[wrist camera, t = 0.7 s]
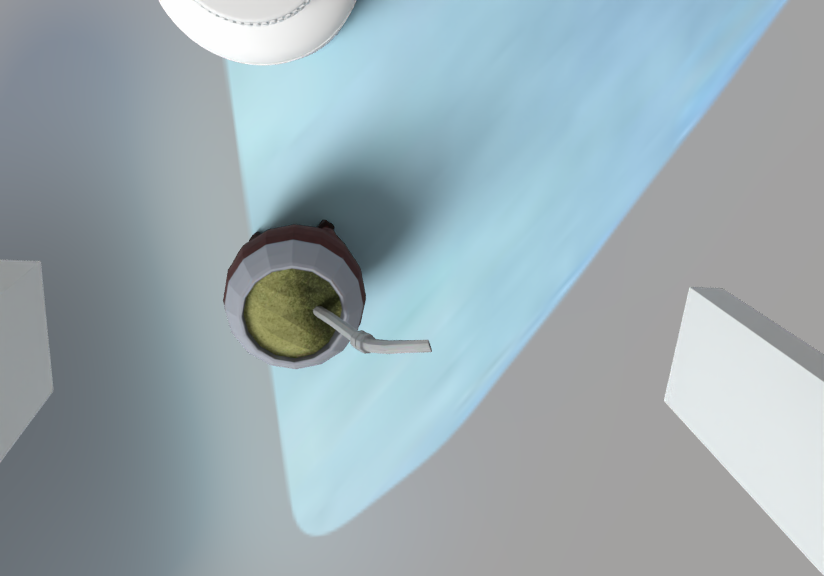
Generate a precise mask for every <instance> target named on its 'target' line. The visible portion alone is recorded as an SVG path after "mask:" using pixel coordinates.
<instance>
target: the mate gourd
mask: <svg viewBox="0 0 824 576" xmlns="http://www.w3.org/2000/svg"><path fill="white" fill-rule="evenodd" d="M333 229H334V226H333V224H332V223H330V222H328V221H327V220H322V221H321V223H320V224H319V225H318V226H317V228H316V227H309V226H302V225H296V224H294V225H289V226H284V227H279V228H274V229H269V230H267V231H265V232H264V233H262V234H260V233H259V232H256V233H255V234H254V235H252V237H251V238H250V240H249V242H248V243H246V244H245V245H243V247H242V248H241V249H240V251H239V252H238V254H237V256H236V258H235V260H234V261H233V263H232V265H231V266H230V268H229V269H228V273H227V280H226V287H225V292H224V299H223V302H224V305H225V306H224V307H225V311H226V315H227V319H228V322H229V326H230V329H231V332H232V334H233V335H234V336H235V337H236V338H237V340H238V341H239V342H240V343H241V345H242V346H243V347H244V348H245V350H246V351H247V352H248V353H250V354H252V355H253V356H255V357H257V358H259V359H261V360H262V361H264V362H266V363H267V364H269V365H273V366H279V367H286V368H292V369H299V368H304V367H309V366H314V365H319V364H322V363H324V362H325V361H327V360H329V359H330V358H332V357H333V356H335V355H337V354H338V353H340V352H341V351H343V350H344V348H345V347H346V346H347V344H348V343H349V341H351V345H352V346H353V347H354V348H356V349H357V350H359V351H361V352H363V353H371V352H372V353H383V354H394V353H416V352H432V349H431V346H430V343H429V341H428V340H393V341H389V340H379V339H375V338H374V337H373V336H372V335H371V334H369V333H366V332H364V331H357V330H358V327H359V325H360V323H361V319H362V314H363V309H364V305H365V300H366V294H365V289H364V283H363V278H362V273H361V269H360V267H359V265H358V263H357V262H356V260H355V259H354V257H353V256H352V254H351V253H350V251H349V250H348V248H347V247H346V245H345V244H344V243H343V242H342V241H341V239H340V238H339V237H338V236H337V235H336V234H335V232H334V230H333Z"/></svg>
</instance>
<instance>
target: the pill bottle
mask: <svg viewBox="0 0 824 576" xmlns="http://www.w3.org/2000/svg"><path fill="white" fill-rule="evenodd" d="M356 1H357V0H159V2H160V4H161V5H162V7H163V8H164V10H165V11H166V13H167V14H168V15H169V17H170V18H171V19H172V21H173V22H174V23H175V24H176V25H177V26H178V27H179V28H180V29H181V30H182V31H183V32H184V33H185V34H186V35H187V36H188V37H189V38H191V39H192V40H193V41H194V42H196V43H197V44H199V45H200V46H202V47H204V48H205V49H207V50H209V51H210V52H212V53H214V54H216V55H218V56H221V57H223V58H226V59H228V60H232V61H235V62H239V63H244V64H250V65H276V64H282V63H287V62H291V61H294V60H297V59H300V58H303V57H306V56H308V55H311V54H313V53H315V52H316V51H318V50H320V49H321V48H323V47H324V46H325V45H327V44H328V43H329V42H330V41H331V40H332V39H333V38H334V37H335V36H336V35H337V33H338V32H339V31H340V29H341V28H342V26H343V25H344V23H345V22H346V20H347V18H348V17H349V15H350V13H351V11H352V9H353V7H354V5H355V3H356Z"/></svg>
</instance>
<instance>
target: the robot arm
mask: <svg viewBox="0 0 824 576" xmlns="http://www.w3.org/2000/svg"><path fill="white" fill-rule="evenodd" d="M52 392H53V383H52V372H51V363H50V351H49V342H48V331H47V321H46V312H45V301H44V291H43V281H42V270H41V262H40V261H21V260H0V462H1V461H2V459H3V458H4V457H5V455H6V454H7V453H8V451H9V450H10V449H11V447H12V446H13V444H14V443H15V442H16V441H17V439H18V438H19V436H20V435H21V434H22V433H23V431H24V430H25V428H26V427H27V426H28V424H29V423H30V422H31V420H32V419H33V418H34V416H35V415H36V414H37V412H38V411H39V410H40V408H41V407H42V406H43V404H44V403H45V402H46V400H47V399H48V398H49V396H50V395H51V393H52ZM664 401H665V402H666V403H667V405H668V406H669V407H670V408H671V409H672V410H673V411H674V412H675V413H676V414H677V416H678V417H679V418H680V419H681V420H682V421H683V422H684V423H685V424H686V425H687V426H688V428H689V429H690V430H691V431H692V432H693V433H694V434H695V435H696V436H697V438H699V439H700V441H701V442H702V443H703V444H704V445H705V446H706V447H707V448H708V450H710V452H711V453H712V454H713V455H714V456H715V457H716V458H717V459H718V460H719V461H720V463H721V464H722V465H723V466H724V467H725V468H726V469H727V470H728V471H729V473H730V474H731V475H732V476H733V477H734V478H735V479H736V480H737V481H738V482H739V483H740V484H741V486H742V487H743V488H744V489H745V490H746V491H747V492H748V493H749V494H750V496H751V497H752V498H753V499H754V500H755V501H756V502H757V503H758V504H759V505H760V506H761V508H762V509H763V510H764V511H765V512H766V513H767V514H768V515H769V516H770V517H771V519H772V520H773V521H774V522H775V523H776V524H777V525H778V526H779V527H780V528H781V529H782V530H783V532H784V533H785V534H786V535H787V536H788V537H789V538H790V539H791V540H792V542H793V543H794V544H795V545H796V546H797V547H798V548H799V549H800V550H801V551H802V552H803V554H804V555H805V556H806V557H807V558H808V559H809V560H810V561H811V562H812V563H813V565H814V566H815V567H816V568H817V569H818V570H819V571H820V572H821V573H822V574H823V575H824V354H823V353H821V352H820V351H818V350H817V349H815V348H814V347H812V346H810V345H809V344H807V343H806V342H804V341H803V340H801V339H800V338H798V337H797V336H795V335H794V334H792V333H791V332H789V331H787V330H786V329H784V328H782V327H781V326H780V325H778V324H777V323H775V322H774V321H772V320H771V319H769V318H768V317H766V316H764V315H763V314H761V313H760V312H758V311H757V310H755V309H754V308H752V307H751V306H749V305H747V304H746V303H744V302H743V301H741V300H740V299H738V298H737V297H735V296H734V295H732V294H731V293H729V292H727V291H726V290H725V289H723V288H703V287H690V288H689V292H688V296H687V301H686V305H685V309H684V314H683V318H682V323H681V327H680V332H679V336H678V341H677V345H676V349H675V354H674V358H673V363H672V367H671V371H670V376H669V380H668V385H667V389H666V394H665V398H664Z"/></svg>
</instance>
